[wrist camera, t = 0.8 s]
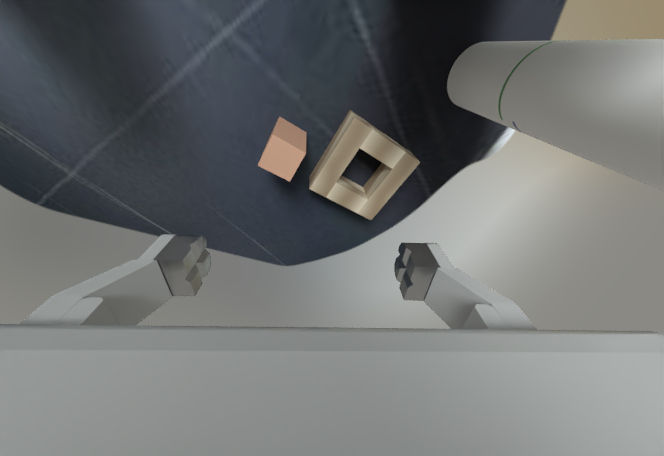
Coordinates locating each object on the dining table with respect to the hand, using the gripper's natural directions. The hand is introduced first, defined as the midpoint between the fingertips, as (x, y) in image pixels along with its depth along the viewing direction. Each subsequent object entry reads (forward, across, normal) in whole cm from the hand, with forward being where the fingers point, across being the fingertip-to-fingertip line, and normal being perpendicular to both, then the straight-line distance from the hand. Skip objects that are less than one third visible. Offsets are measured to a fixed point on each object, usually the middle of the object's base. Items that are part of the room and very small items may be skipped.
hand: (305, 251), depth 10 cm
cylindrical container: (+28, -20, -7) cm, 35 cm away
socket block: (+28, -6, +5) cm, 29 cm away
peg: (+27, +4, +2) cm, 27 cm away
